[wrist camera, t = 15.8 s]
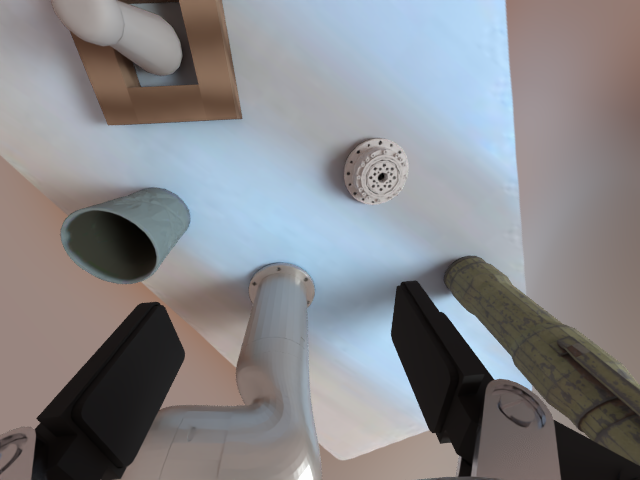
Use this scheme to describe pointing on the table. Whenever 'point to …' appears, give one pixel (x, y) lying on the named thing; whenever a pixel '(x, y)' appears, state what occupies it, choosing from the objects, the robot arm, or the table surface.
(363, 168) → the mechanical component
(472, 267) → the green textured column
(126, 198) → the green embossed cup
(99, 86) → the holder board
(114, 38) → the salt shaker
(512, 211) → the table surface
